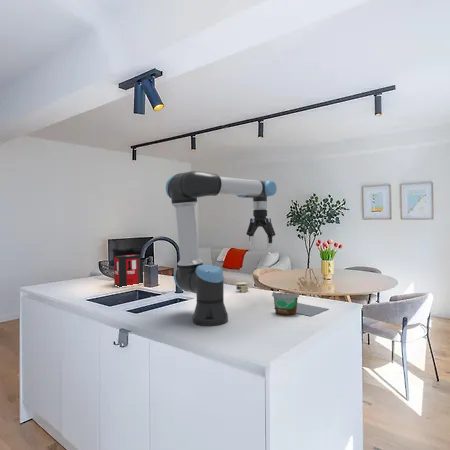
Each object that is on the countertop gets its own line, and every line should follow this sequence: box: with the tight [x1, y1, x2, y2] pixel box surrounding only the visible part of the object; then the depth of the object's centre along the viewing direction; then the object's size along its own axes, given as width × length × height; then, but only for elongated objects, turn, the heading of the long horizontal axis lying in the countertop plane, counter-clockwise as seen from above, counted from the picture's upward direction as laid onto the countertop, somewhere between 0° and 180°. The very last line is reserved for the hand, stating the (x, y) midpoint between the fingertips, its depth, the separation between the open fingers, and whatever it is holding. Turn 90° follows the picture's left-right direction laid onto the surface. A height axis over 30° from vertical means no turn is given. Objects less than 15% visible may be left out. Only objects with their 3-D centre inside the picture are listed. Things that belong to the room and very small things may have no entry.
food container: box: [271, 290, 300, 317], centre depth 159 cm, size 12×6×10 cm, turn 73°
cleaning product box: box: [113, 253, 144, 287], centre depth 236 cm, size 16×9×20 cm, turn 130°
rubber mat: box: [273, 302, 330, 317], centre depth 168 cm, size 16×20×1 cm
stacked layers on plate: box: [235, 281, 249, 294], centre depth 209 cm, size 10×9×6 cm
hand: (260, 248), depth 191 cm, fingers open, 13 cm apart
